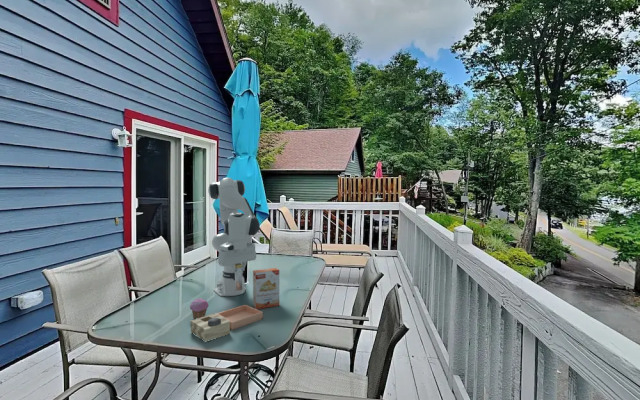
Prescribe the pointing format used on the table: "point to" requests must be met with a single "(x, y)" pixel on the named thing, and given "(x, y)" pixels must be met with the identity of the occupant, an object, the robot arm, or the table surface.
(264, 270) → the cracker box
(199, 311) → the cupcake
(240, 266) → the pin
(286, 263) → the table surface
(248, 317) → the tray
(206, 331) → the block
